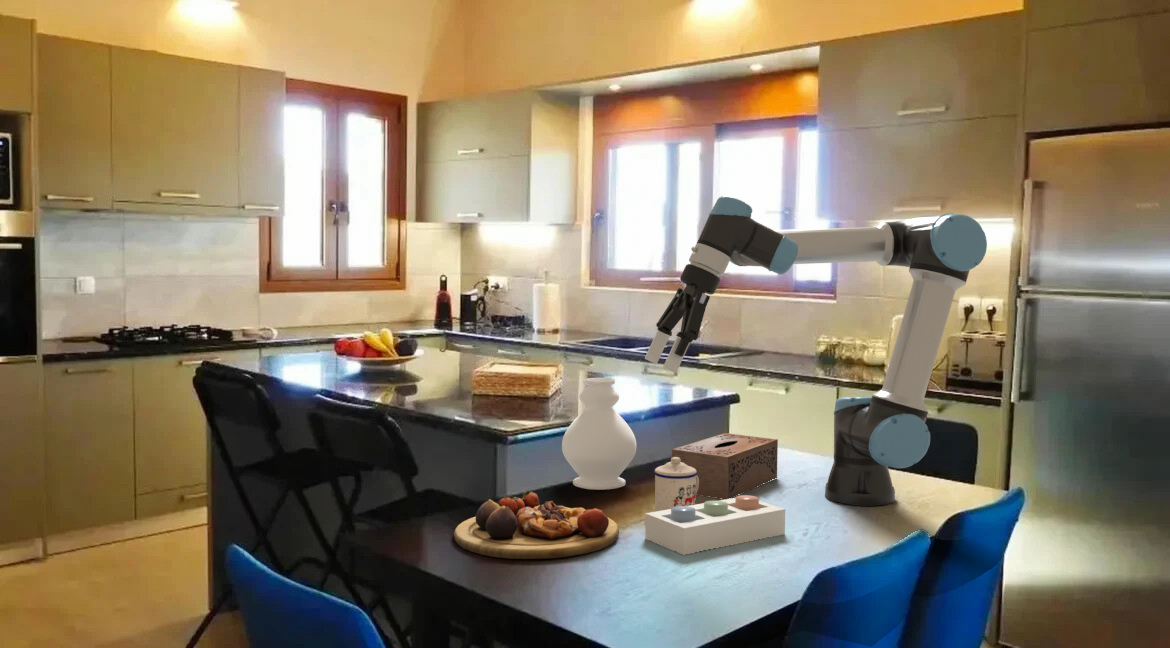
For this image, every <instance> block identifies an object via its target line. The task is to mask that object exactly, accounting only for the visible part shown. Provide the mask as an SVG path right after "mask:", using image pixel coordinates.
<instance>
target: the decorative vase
mask: <svg viewBox="0 0 1170 648" xmlns="http://www.w3.org/2000/svg"><path fill="white" fill-rule="evenodd" d="M583 384H585V385H586V387H584V388H583V390H581V391H580V394H579V400H580V402H581V403H582V404H583V406H585V407H586V408H585V409H584V410H583V411H581V413H579V415H577V417H576V418H574V420H573V421H572V422H571V424H570V425H569V426H568V428H567V429H566V431H565V433H564V434H563V437H562V442H561V450H562V451H561V452H562V454H563V456H564V458H565V460H566V462H567V463H568V464H569V465H570V466H571V468H572V469H573V470H574V472H575V473H576V474H577V475H578V476H579V477H575V478H574V479H573V480H572V484H573V486H575V487H577V488H580V489H586V490H598V491H599V490H603V491H604V490H612V489H613V490H614V489H619V488H622V487H624V486H625V485H626V479H624V478H622V477H620V475H621V474H622V473H623V472H624V471H625V470H626V468H627V467H628V465H630V463H631V462H632V460H633V459H634V457H635V455H636V453H637V440H636V439H637V438H636V436H635V434H634V431H633V430H632V428H631V427H630V425H629V424H628V423H627V422H626V421H625V419H624V418H623V417H622V416H621V415H620V414H619V413H618V412H617V411H616V410H615V409H614V406H615V405H616V404H617V403H618V401H619V399H620V395H619V392H618V391H617V390H616V389H615V388H614V387H612V385H614V384H616V379H615V378H610V377H589V378H584V379H583Z"/></svg>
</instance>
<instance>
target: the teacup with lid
mask: <svg viewBox="0 0 1170 648" xmlns="http://www.w3.org/2000/svg"><path fill="white" fill-rule="evenodd" d="M653 474H654V475H655V476H654V493H655V494H654V512H656V511H662V510H668V509H671V508H673V507H677V506H691V505H696V504H697V503H696V502H697V500H696V499H697V495H696V493H697V491H698V487H699V478H698V476H697V471H696V469H695V468H693V467H690V466H687V465H686V464H685V463H682V462H680V458H678V457H673V458H672V457H671V458H670V461H669V462H668V461H667V462H666V463H664V465H659V466H657V467H656V468H655V469H654V472H653Z"/></svg>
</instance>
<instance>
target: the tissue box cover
mask: <svg viewBox="0 0 1170 648" xmlns="http://www.w3.org/2000/svg"><path fill="white" fill-rule="evenodd" d="M778 440H779V439H777V438H770V437H761V436H759V437H758V436H752V435H745V434H737V433H728V432H723V433H721V434H717V435H714V436H711V437H708V438H704V439H701V440H697V441H694V442H692V443H688V444H685V445H681V446H677V447H675V448H672V449H671V458H673V457H678V458H680V462H682V463H685V464H686V465H687V466H690V467H693V468H695V469H696V471H697V476H698V478H699V487H698V491H697V493H696V494H698V495H697V496H700V495H703V496H702V497H706V496H710V497H709V498H712V497H717V498H716V499H718V498H722V499H721V500H724V499H729V498H731V497H733V498H735V497H737V496H736V495H738V494H740V495H742V494H741V493H743V492H745V493H746V491H747V492H749V491H748V490H750V491H752V490H754V489H756V488H755V487H757V486H759V485H761V484H763V483H766V482H768V481H770V480H772V479H775V478H777V479H778V449H779V448H778V446H779V445H778V443H779V441H778ZM768 483H769V482H768ZM766 484H767V483H766ZM761 486H762V485H761ZM759 487H760V486H759ZM753 488H754V489H753ZM757 488H758V487H757ZM751 489H752V490H751ZM743 494H744V493H743ZM734 496H735V497H734ZM738 496H739V495H738Z"/></svg>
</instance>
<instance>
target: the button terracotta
mask: <svg viewBox="0 0 1170 648" xmlns="http://www.w3.org/2000/svg"><path fill="white" fill-rule="evenodd" d="M734 498H735V508H738V509H741V510H744V511H749V510H754V509H759V501H760V498H759V497H758V496H755V495H750V494H749V495H745V494H743V495H742V494H740V495H738V496H735V497H734Z"/></svg>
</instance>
